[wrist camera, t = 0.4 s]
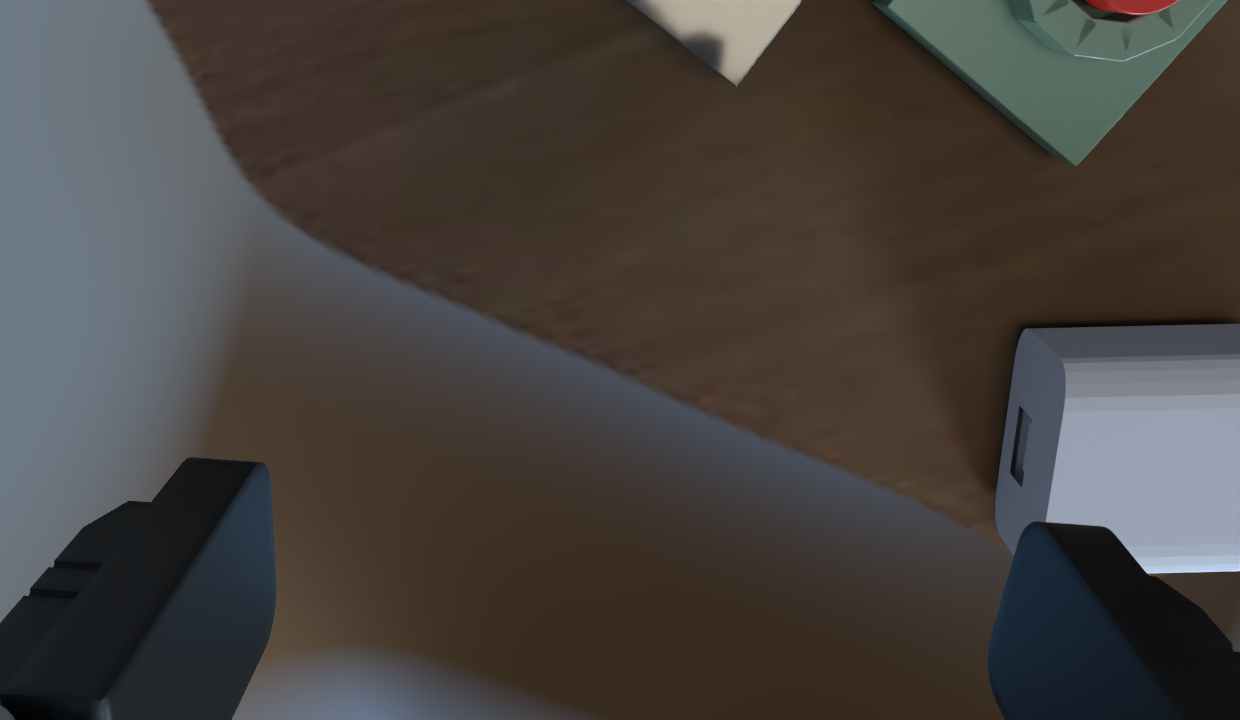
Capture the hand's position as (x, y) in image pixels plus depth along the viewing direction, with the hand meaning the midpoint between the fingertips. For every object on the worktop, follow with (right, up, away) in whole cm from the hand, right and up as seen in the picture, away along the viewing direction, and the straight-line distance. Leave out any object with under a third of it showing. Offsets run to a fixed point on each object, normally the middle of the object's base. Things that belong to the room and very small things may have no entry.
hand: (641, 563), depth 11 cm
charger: (+23, 0, +32) cm, 39 cm away
